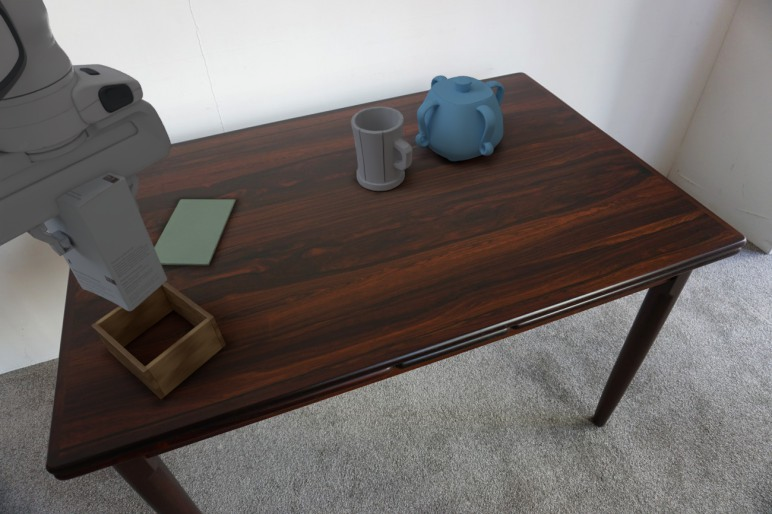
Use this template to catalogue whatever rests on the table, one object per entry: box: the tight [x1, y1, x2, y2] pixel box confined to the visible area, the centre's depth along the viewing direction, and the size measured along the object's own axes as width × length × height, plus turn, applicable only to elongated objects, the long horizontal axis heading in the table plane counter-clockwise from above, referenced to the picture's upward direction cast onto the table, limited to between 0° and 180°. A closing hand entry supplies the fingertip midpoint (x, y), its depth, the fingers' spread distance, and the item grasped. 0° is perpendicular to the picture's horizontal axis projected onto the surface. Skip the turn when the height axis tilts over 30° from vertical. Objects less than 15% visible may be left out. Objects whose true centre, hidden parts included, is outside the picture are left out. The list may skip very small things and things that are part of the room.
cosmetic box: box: [44, 172, 168, 311], centre depth 55 cm, size 8×6×15 cm
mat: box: [154, 198, 237, 267], centre depth 87 cm, size 16×10×1 cm, turn 177°
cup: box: [350, 105, 413, 192], centre depth 91 cm, size 10×9×12 cm
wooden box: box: [91, 281, 226, 400], centre depth 68 cm, size 10×12×6 cm
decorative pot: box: [414, 74, 505, 162], centre depth 98 cm, size 16×16×14 cm
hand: (99, 230), depth 55 cm, fingers closed on cosmetic box, 6 cm apart
